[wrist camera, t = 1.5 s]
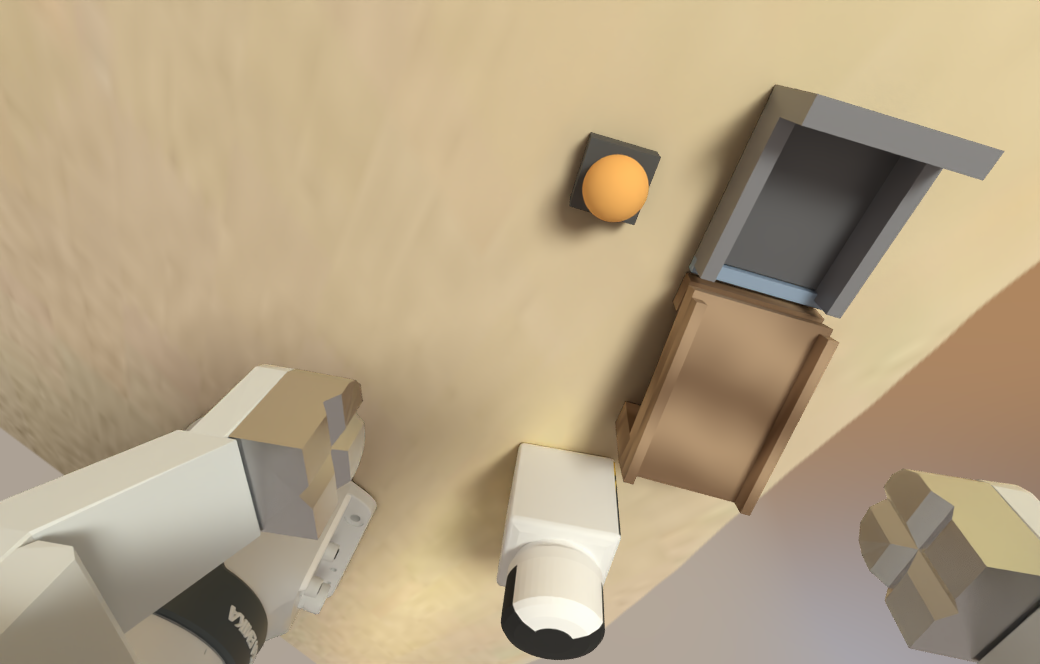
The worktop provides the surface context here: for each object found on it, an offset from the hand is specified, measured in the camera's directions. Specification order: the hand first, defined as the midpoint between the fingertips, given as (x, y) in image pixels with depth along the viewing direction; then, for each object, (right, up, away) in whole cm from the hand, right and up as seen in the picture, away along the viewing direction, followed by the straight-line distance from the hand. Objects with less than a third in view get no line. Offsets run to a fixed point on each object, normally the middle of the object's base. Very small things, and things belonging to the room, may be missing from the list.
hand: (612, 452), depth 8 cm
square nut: (+3, +10, +19) cm, 22 cm away
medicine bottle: (+2, -10, +31) cm, 33 cm away
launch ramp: (+11, -1, +25) cm, 27 cm away
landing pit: (+13, +8, +19) cm, 25 cm away
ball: (+3, +9, +17) cm, 19 cm away
